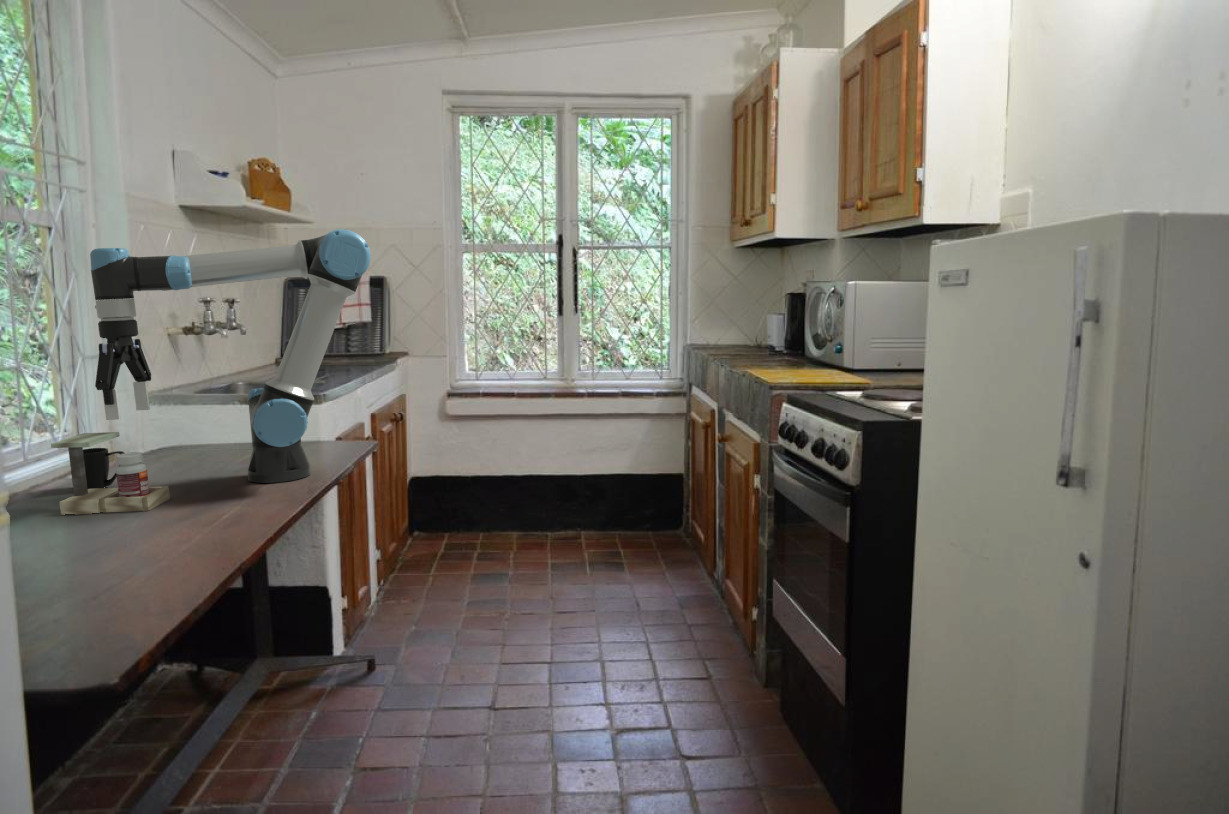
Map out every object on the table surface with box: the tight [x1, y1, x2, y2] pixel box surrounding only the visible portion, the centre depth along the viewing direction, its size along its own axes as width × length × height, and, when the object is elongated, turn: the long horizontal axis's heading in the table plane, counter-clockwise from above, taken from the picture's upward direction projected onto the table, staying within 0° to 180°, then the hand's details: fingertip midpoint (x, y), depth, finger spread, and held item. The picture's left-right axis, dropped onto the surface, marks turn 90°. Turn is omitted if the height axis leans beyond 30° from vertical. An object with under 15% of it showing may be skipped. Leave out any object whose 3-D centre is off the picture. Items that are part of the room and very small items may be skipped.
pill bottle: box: [115, 451, 150, 497], centre depth 199 cm, size 6×6×11 cm
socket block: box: [50, 431, 171, 516], centre depth 199 cm, size 18×13×16 cm
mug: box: [83, 447, 125, 489], centre depth 218 cm, size 8×12×10 cm
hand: (128, 414), depth 198 cm, fingers open, 13 cm apart
